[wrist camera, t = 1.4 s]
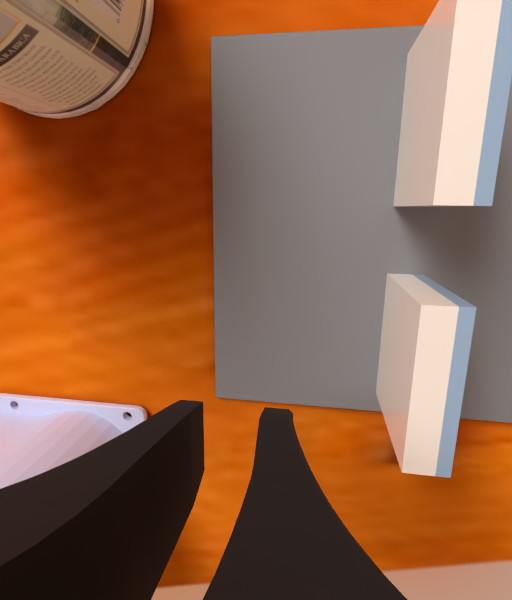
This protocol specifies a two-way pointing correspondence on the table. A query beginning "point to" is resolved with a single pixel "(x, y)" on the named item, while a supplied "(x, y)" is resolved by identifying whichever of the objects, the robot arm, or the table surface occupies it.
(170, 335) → the table surface
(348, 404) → the mat
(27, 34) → the coffee can
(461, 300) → the tile
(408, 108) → the tile
